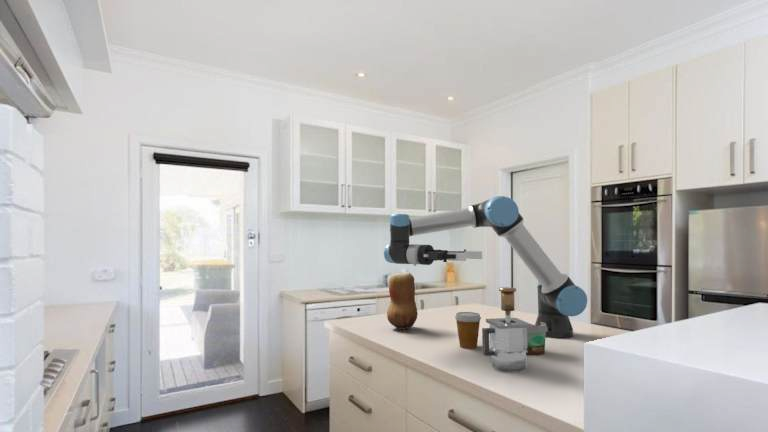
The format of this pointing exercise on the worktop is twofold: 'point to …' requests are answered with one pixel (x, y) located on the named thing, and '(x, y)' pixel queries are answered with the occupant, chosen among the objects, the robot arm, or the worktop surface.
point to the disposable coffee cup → (468, 329)
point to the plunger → (507, 302)
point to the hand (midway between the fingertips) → (474, 256)
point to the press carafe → (506, 344)
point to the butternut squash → (402, 301)
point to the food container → (536, 339)
